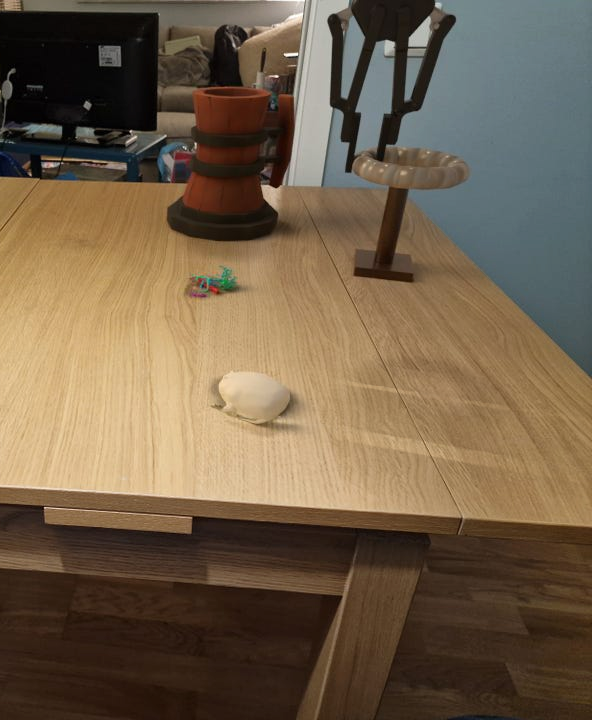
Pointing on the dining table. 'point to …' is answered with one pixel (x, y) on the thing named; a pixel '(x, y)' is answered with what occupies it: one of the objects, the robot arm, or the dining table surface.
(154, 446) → the dining table surface
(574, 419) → the dining table surface
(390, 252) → the stand
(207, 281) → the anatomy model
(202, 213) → the tankard
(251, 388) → the garlic
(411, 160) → the bracelet
